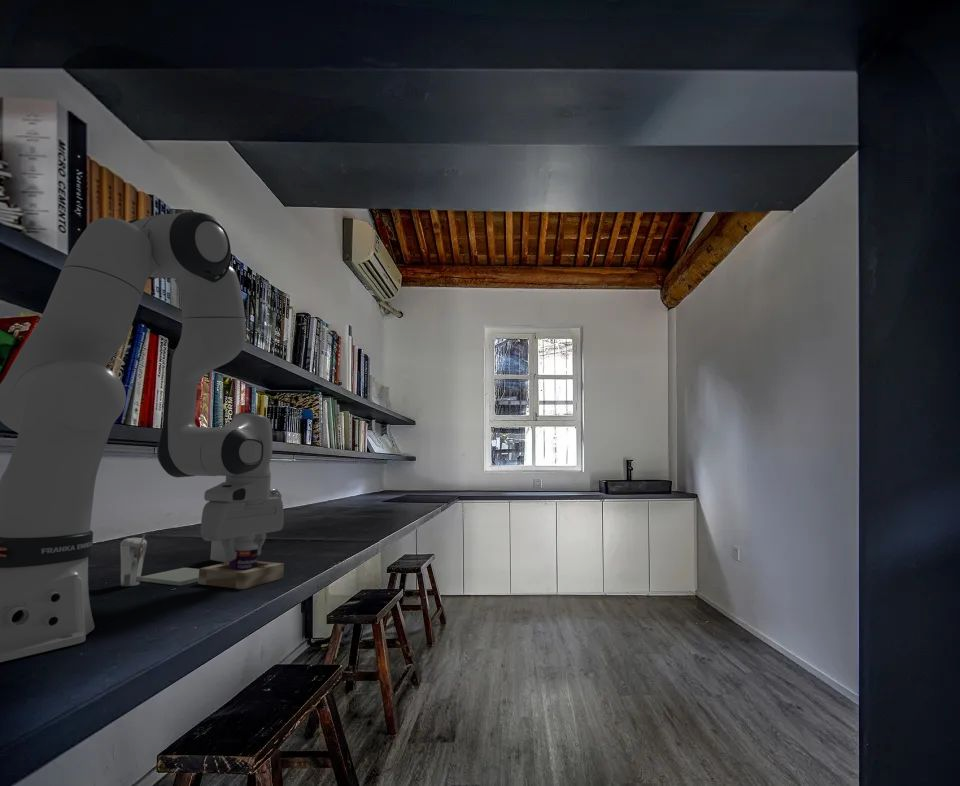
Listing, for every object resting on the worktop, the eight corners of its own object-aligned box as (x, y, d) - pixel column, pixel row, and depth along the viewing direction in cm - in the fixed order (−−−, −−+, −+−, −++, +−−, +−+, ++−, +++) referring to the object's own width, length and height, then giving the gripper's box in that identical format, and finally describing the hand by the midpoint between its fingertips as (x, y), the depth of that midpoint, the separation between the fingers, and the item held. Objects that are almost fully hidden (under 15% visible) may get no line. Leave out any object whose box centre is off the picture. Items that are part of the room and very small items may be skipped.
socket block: (243, 589, 110) (244, 572, 110) (198, 583, 114) (199, 567, 114) (283, 578, 121) (284, 562, 121) (240, 573, 125) (241, 558, 125)
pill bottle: (236, 584, 114) (239, 535, 115) (222, 581, 117) (225, 532, 118) (261, 580, 118) (264, 532, 119) (247, 577, 121) (249, 530, 122)
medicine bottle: (227, 563, 136) (230, 512, 137) (209, 560, 140) (213, 510, 141) (253, 559, 142) (255, 510, 143) (235, 556, 146) (238, 508, 147)
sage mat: (180, 585, 112) (180, 581, 112) (139, 580, 116) (139, 576, 116) (222, 575, 122) (223, 571, 122) (184, 571, 126) (184, 567, 126)
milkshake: (128, 588, 109) (132, 535, 110) (111, 585, 111) (116, 533, 112) (151, 584, 113) (155, 533, 114) (134, 581, 115) (139, 531, 116)
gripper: (269, 488, 130) (266, 549, 129) (197, 492, 111) (192, 564, 110) (292, 488, 128) (289, 551, 126) (222, 493, 109) (217, 567, 107)
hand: (243, 557), depth 118 cm, fingers closed on pill bottle, 5 cm apart
